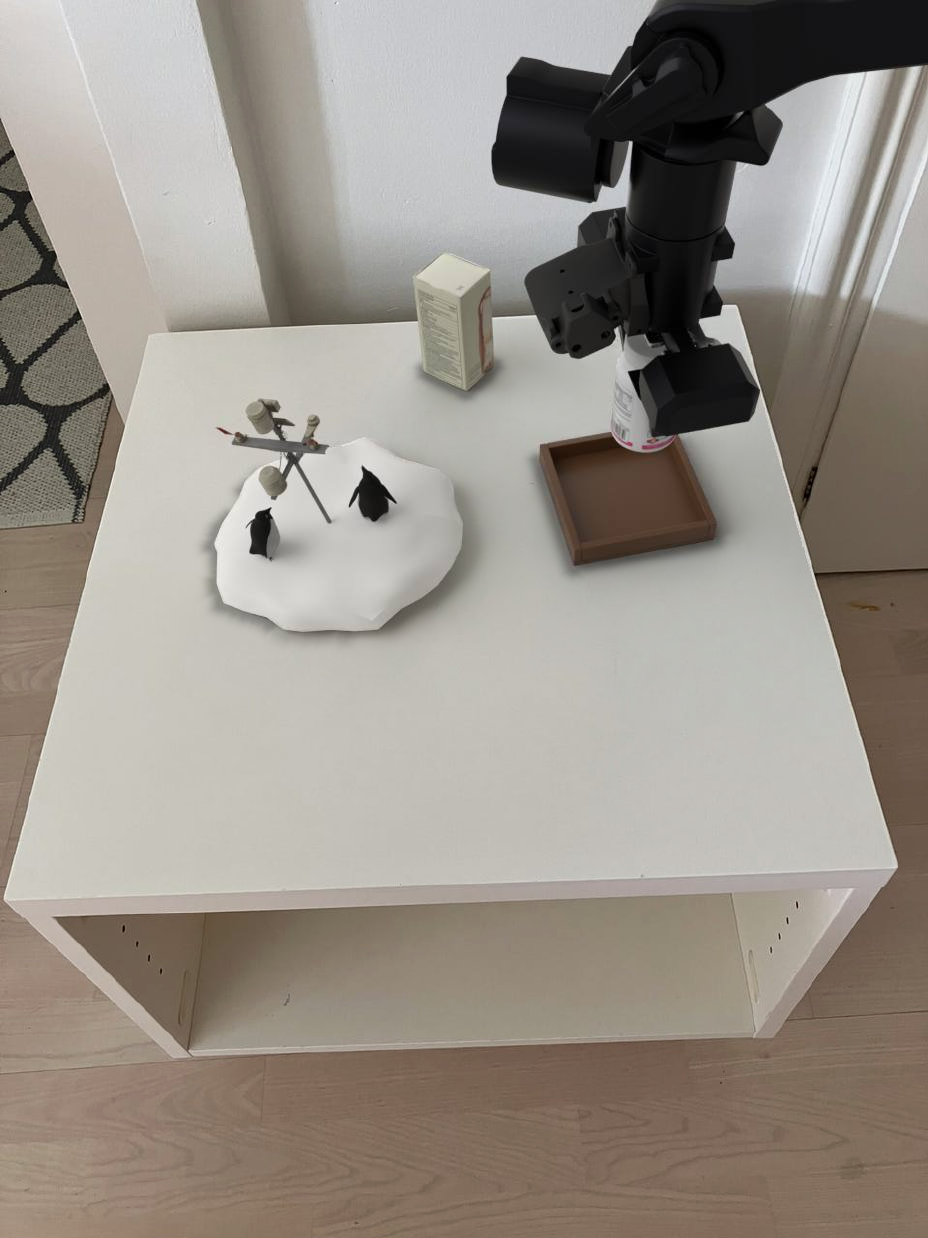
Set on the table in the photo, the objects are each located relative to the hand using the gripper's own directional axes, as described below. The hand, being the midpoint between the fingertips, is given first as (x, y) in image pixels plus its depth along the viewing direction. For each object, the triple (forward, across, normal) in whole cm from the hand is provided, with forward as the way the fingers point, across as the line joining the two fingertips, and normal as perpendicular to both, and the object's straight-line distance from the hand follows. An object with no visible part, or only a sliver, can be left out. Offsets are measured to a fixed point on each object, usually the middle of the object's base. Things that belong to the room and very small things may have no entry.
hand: (647, 408), depth 71 cm
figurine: (+12, -3, -23) cm, 26 cm away
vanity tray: (+12, -2, 0) cm, 12 cm away
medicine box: (+12, -20, -10) cm, 25 cm away
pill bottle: (+2, 0, 0) cm, 2 cm away
